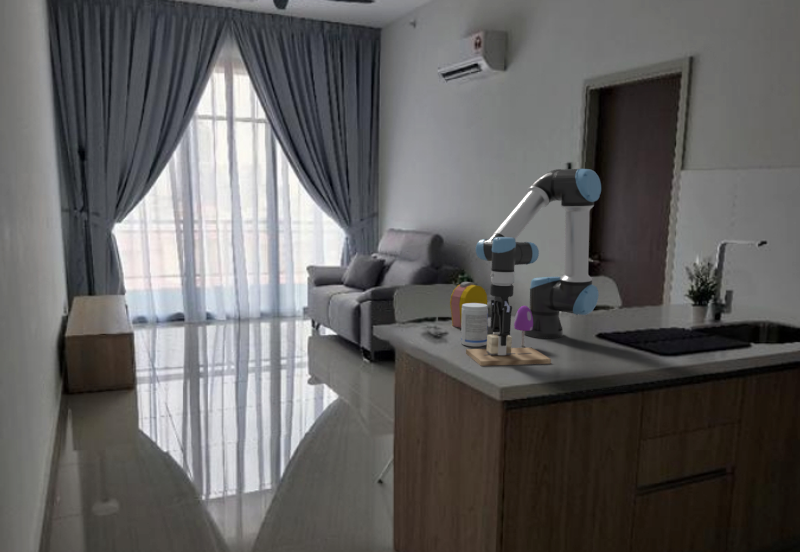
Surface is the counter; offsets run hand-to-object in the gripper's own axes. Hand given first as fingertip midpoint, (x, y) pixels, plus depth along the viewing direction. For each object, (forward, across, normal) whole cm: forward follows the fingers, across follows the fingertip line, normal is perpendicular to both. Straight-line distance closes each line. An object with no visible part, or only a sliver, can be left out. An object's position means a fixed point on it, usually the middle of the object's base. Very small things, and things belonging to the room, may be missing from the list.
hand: (499, 352), depth 211 cm
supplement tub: (+2, -21, -2) cm, 21 cm away
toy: (+2, -16, +15) cm, 22 cm away
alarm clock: (+2, -54, +6) cm, 55 cm away
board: (+2, 0, +3) cm, 4 cm away
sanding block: (0, 0, 0) cm, 0 cm away
